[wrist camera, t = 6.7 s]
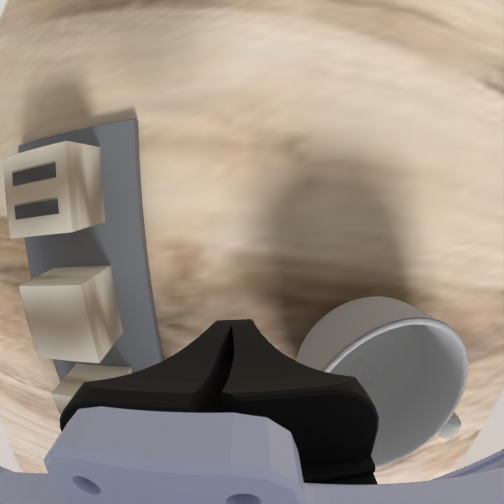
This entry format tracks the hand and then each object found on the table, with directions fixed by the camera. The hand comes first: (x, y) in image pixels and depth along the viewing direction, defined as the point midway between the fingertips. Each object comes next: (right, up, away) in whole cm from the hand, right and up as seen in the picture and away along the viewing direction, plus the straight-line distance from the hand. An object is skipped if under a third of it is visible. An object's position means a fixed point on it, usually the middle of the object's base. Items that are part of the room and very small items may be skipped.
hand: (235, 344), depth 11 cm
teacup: (+10, -5, +12) cm, 16 cm away
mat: (-11, 0, +10) cm, 15 cm away
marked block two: (-12, +8, +8) cm, 16 cm away
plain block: (-11, 0, +10) cm, 15 cm away
